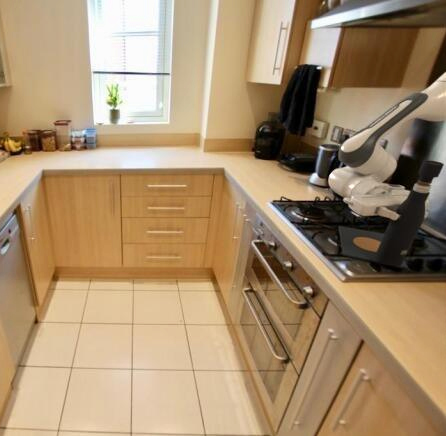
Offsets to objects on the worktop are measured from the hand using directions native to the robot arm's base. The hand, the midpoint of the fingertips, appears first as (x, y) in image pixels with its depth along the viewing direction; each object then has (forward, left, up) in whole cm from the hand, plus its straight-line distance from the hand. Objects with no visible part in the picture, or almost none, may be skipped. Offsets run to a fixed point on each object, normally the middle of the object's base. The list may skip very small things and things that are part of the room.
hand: (411, 216), depth 85 cm
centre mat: (+3, -11, -17) cm, 20 cm away
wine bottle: (+1, -1, -15) cm, 15 cm away
